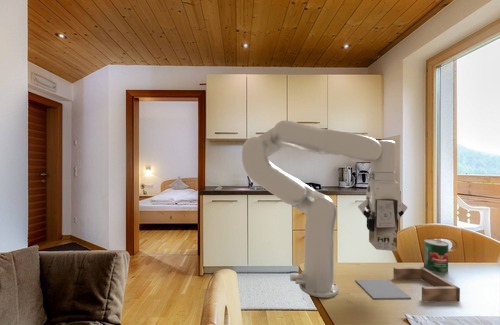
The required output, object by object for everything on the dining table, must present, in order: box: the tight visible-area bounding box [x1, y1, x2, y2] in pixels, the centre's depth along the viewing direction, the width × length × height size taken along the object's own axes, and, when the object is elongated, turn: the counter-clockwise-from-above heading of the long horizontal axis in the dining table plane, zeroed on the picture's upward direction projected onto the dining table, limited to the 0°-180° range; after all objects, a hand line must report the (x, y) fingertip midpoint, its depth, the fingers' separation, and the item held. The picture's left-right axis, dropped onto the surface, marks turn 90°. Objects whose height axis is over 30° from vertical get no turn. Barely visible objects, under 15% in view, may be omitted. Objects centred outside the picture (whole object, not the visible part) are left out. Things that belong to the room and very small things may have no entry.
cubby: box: [392, 266, 461, 303], centre depth 84 cm, size 11×15×4 cm
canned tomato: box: [423, 238, 450, 275], centre depth 100 cm, size 8×8×11 cm
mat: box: [354, 279, 412, 300], centre depth 84 cm, size 12×12×1 cm
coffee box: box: [368, 199, 398, 252], centre depth 84 cm, size 9×6×16 cm
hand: (382, 230), depth 84 cm, fingers closed on coffee box, 7 cm apart
